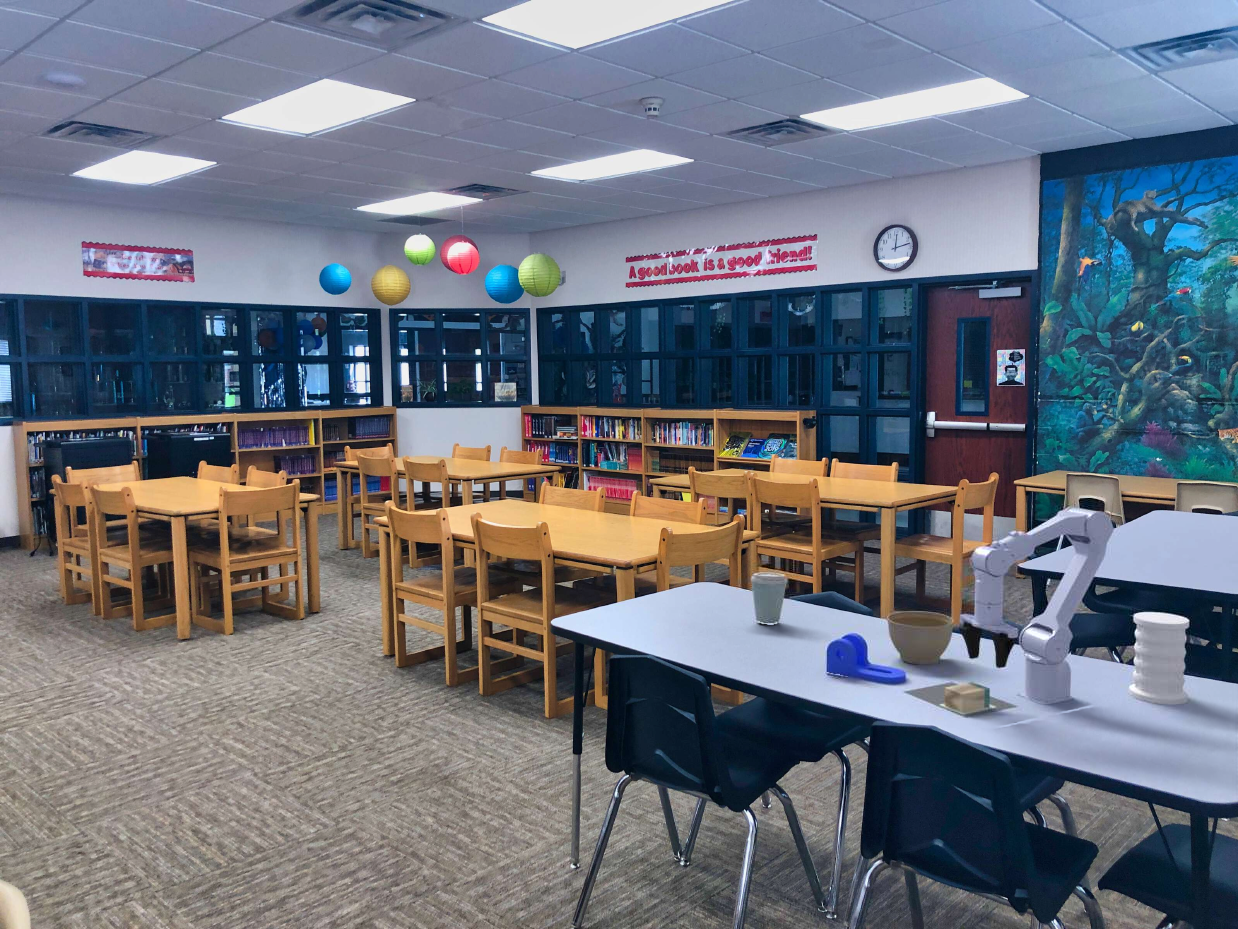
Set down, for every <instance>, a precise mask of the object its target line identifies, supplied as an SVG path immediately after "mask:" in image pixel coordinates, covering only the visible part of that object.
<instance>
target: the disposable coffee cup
mask: <svg viewBox="0 0 1238 929" xmlns="http://www.w3.org/2000/svg"><path fill="white" fill-rule="evenodd" d="M750 581H751V588H752V596H753V604H754V615H755V620H756V622H757V621H760V622H763V623H775V622H778V621H779V620H781V614H782V608H783V603H784V598H785V593H786V592H785V591H786V588H787V583H788V577H786V574H783V573H777V572H755V573H753V574H752V575H751V577H750ZM779 622H780V621H779ZM779 622H778V623H779Z"/></svg>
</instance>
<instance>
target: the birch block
mask: <svg viewBox="0 0 1238 929" xmlns="http://www.w3.org/2000/svg"><path fill="white" fill-rule="evenodd" d="M990 693H991V688H989V687H987V686H983V685H981V684H978V683H975V682H973V681H970V682H966V683H961V684H958V685H955V686H950V687H945V704H944V705H945V706H947V707H949V708H952V709H954V710H957V711H959V712H966V711H971V710H976V709H980V708H985V707H989V702H990V696H991V694H990Z"/></svg>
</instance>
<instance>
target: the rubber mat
mask: <svg viewBox="0 0 1238 929" xmlns="http://www.w3.org/2000/svg"><path fill="white" fill-rule="evenodd" d="M955 685H959V684H958V683H957V682H956V683H955V682H953V681H951V682H947V683H941V684H936V685H931V686H926V687H921V688H916V689H915V688H914V689H910V690H904V691H903V693H904V694H907V695H910V696H911V697H912V696H913V697H914V698H917V699H920V700H921V701H924V702H927V703H930V704H932V705H934V706H936V707H939V708H942V709H945V710H947V711H949V712H951V713H954V714H956V715H959V716H962V717H963V718H971V717H977V716H981V715H986V714H989V713H995V712H998V711H1003V710H1008V709H1012V708H1016V707H1018V706H1017V705H1016V704H1013V703H1009V702H1007V701H1004V700H1002V699H999V698H996V697H993V696H991V695H990V702H989V707H985V708H980V709H976V710H971V711H966V712H959V711H957V710H954V709H952V708H949V707H947V706H945V705H944V704H945V687H950V686H955Z"/></svg>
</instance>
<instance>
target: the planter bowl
mask: <svg viewBox="0 0 1238 929" xmlns="http://www.w3.org/2000/svg"><path fill="white" fill-rule="evenodd" d="M886 619H887V625H888V626H887V628H888V634H889V637H890V640H891V642H892V644H893V647H894V648H895V650H896V651H897V652H898V654H899V656H900V660H901V661H903V662H905V661H906V662H905V663H908V662H910V663H909V664H912V663H913V665H932V664H937V663H939V662H940V661H941V660H940V659H941V656H942V655H943V654H944V653H945V652H946V650H947V648H948V647H949V644H950V642H951V640H952V635H953V627H954V623H955V622H954V619H953V618H952V617H950V616H948V615H946V614H942V613H939V612H931V611H923V610H921V611H917V610H912V611H909V610H907V611H898V612H893V613H890V614H889V615H887V617H886Z"/></svg>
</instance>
